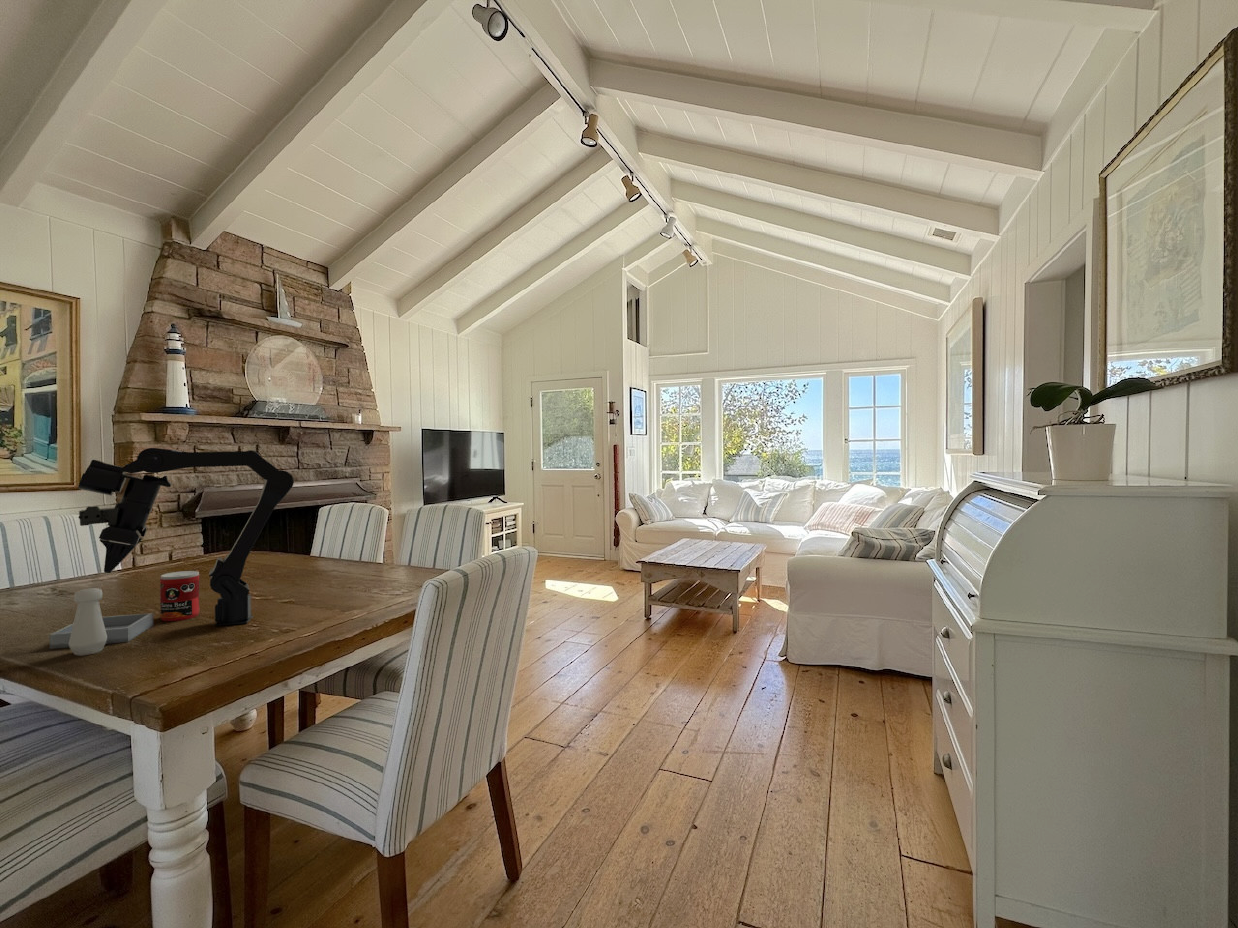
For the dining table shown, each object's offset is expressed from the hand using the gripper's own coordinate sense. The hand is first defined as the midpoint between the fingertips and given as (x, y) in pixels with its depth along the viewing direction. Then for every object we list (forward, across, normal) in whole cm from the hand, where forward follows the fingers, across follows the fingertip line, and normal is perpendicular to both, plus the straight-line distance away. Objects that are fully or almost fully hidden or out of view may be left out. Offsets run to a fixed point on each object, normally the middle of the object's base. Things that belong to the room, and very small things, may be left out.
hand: (110, 569), depth 124 cm
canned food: (+12, -13, +16) cm, 23 cm away
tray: (+15, -3, +3) cm, 16 cm away
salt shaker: (+16, +9, +2) cm, 18 cm away
